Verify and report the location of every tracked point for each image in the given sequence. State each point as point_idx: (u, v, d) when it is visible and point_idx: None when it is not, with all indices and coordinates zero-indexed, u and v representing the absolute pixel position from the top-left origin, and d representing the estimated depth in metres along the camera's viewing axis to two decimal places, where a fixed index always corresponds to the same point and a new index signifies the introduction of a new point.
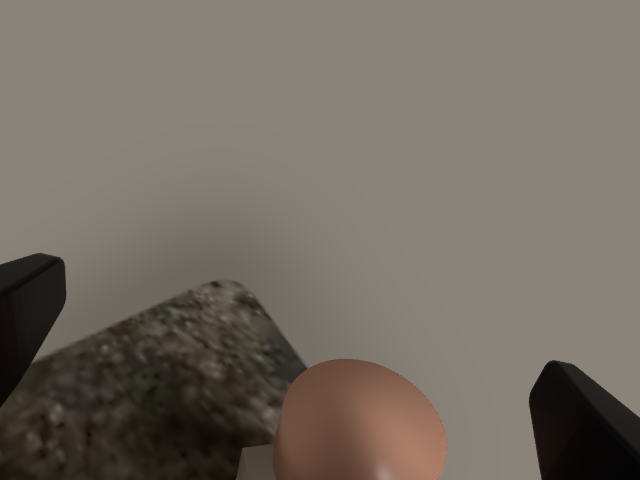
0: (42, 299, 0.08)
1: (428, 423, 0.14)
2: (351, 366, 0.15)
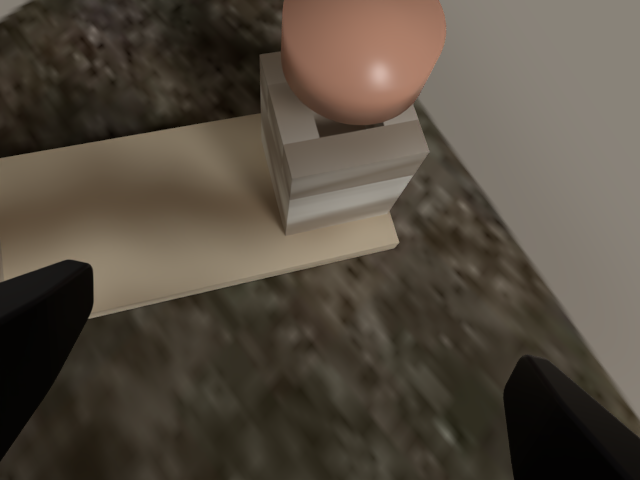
0: (73, 305, 0.08)
1: (430, 18, 0.14)
2: None
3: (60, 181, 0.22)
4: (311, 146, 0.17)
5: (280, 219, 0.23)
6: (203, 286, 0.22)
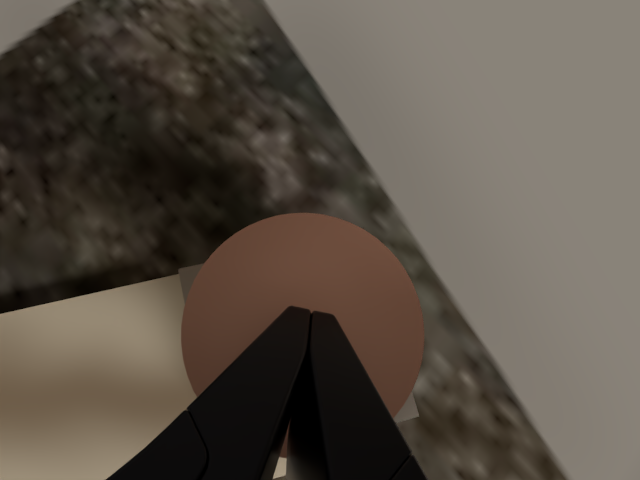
0: None
1: (401, 321, 0.10)
2: (296, 227, 0.10)
3: None
4: None
5: None
6: None
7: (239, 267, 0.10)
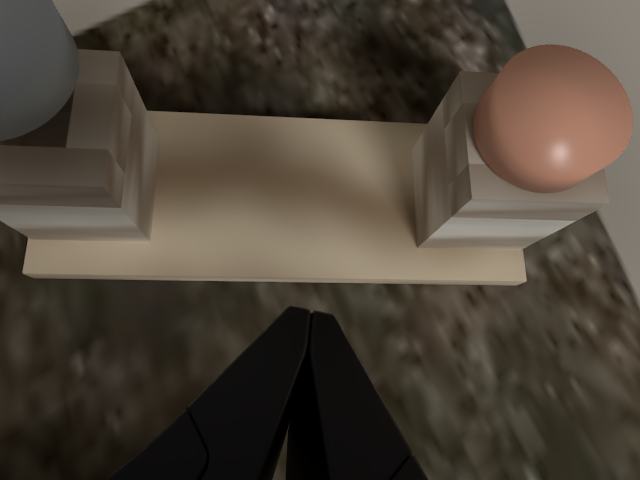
0: None
1: (620, 117, 0.16)
2: (564, 53, 0.16)
3: (218, 146, 0.23)
4: None
5: (415, 230, 0.23)
6: (330, 277, 0.22)
7: (530, 65, 0.16)
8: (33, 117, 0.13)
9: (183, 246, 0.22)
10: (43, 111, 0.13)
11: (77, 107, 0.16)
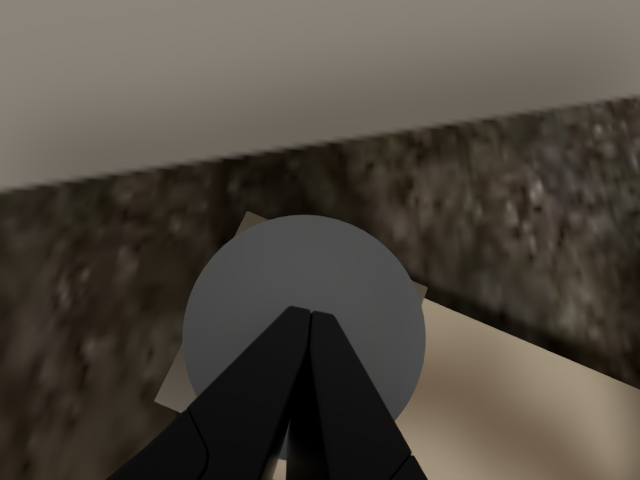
0: None
1: None
2: None
3: (440, 351, 0.19)
4: None
5: None
6: None
7: None
8: None
9: None
10: None
11: None
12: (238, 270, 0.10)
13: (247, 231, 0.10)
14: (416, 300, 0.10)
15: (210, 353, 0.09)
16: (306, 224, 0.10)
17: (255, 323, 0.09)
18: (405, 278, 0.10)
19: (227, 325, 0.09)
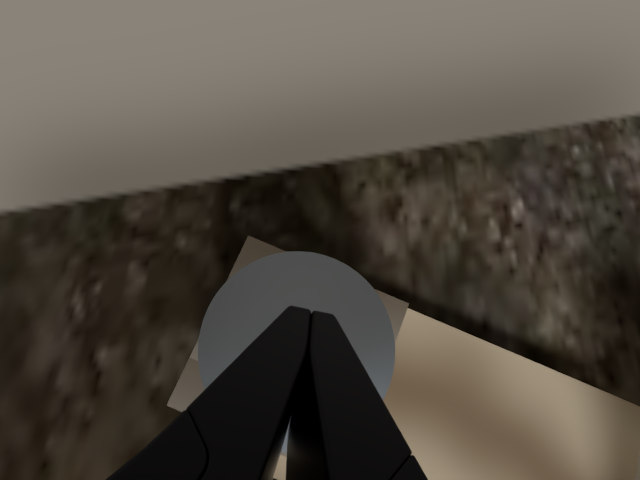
0: None
1: None
2: None
3: (426, 359, 0.20)
4: None
5: None
6: None
7: None
8: None
9: None
10: None
11: None
12: (242, 297, 0.12)
13: (250, 265, 0.12)
14: (388, 321, 0.12)
15: (219, 365, 0.11)
16: (298, 259, 0.12)
17: None
18: (379, 303, 0.12)
19: (234, 343, 0.11)
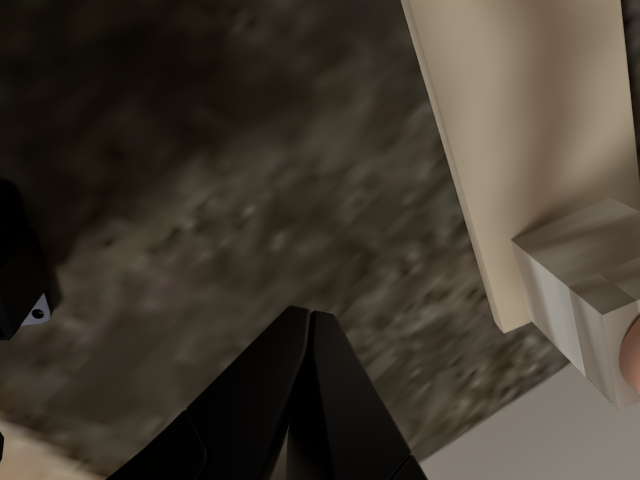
0: None
1: None
2: None
3: None
4: (632, 323, 0.18)
5: (527, 231, 0.23)
6: (460, 176, 0.22)
7: None
8: None
9: (448, 9, 0.19)
10: None
11: None
12: None
13: None
14: None
15: None
16: None
17: None
18: None
19: None
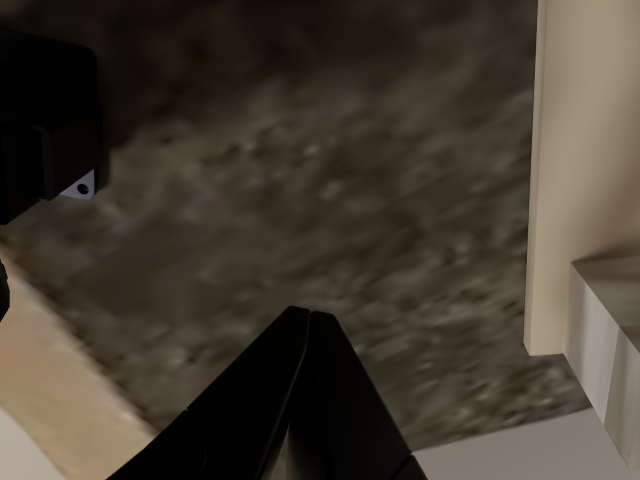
0: None
1: None
2: None
3: None
4: None
5: (591, 259, 0.21)
6: (539, 178, 0.20)
7: None
8: None
9: None
10: None
11: None
12: None
13: None
14: None
15: None
16: None
17: None
18: None
19: None
